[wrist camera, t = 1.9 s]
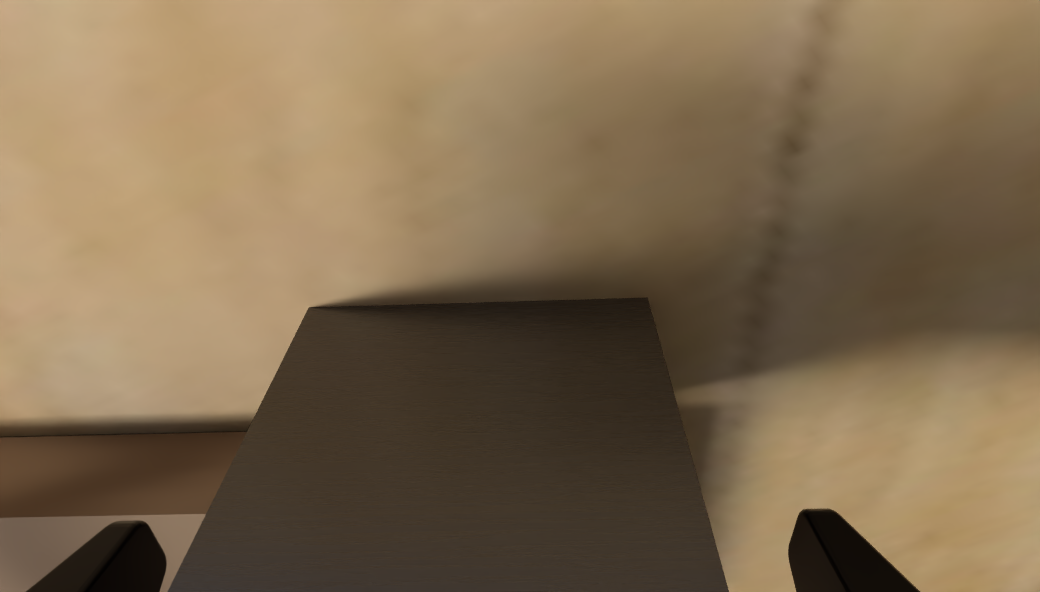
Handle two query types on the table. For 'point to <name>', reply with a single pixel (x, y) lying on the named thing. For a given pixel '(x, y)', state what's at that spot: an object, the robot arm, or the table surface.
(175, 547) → the walnut board
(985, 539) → the table surface
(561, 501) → the marking gauge
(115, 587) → the robot arm
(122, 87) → the table surface
